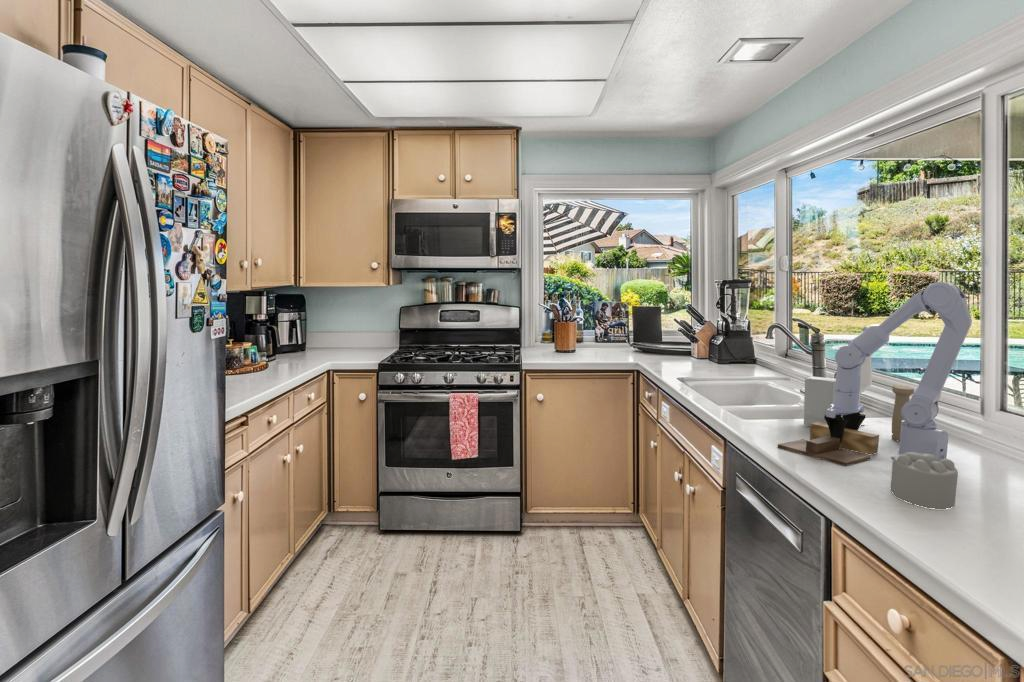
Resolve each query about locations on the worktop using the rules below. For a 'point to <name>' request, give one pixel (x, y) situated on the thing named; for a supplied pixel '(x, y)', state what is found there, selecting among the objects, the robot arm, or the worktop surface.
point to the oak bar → (848, 438)
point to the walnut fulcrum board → (825, 450)
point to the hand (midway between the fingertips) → (842, 441)
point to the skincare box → (818, 398)
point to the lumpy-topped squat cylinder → (924, 480)
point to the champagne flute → (865, 377)
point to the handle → (899, 407)
